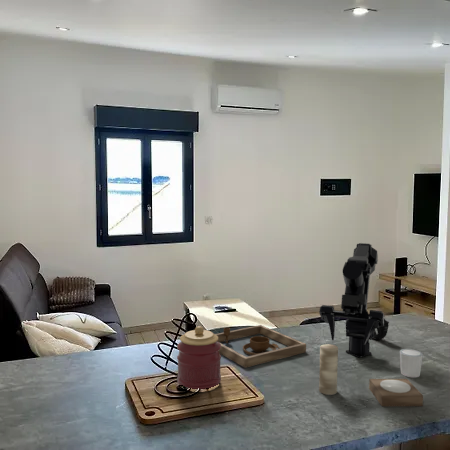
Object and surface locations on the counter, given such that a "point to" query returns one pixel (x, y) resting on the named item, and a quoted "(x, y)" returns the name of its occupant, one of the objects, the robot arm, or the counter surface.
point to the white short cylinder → (410, 362)
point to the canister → (199, 359)
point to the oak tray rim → (293, 349)
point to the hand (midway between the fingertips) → (348, 342)
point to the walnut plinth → (395, 392)
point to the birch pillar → (328, 369)
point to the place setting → (254, 343)
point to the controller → (381, 331)
